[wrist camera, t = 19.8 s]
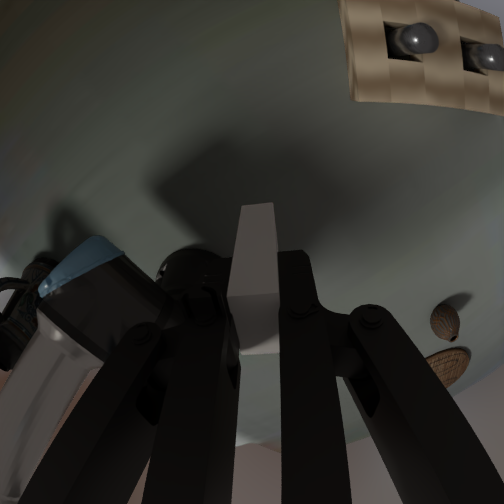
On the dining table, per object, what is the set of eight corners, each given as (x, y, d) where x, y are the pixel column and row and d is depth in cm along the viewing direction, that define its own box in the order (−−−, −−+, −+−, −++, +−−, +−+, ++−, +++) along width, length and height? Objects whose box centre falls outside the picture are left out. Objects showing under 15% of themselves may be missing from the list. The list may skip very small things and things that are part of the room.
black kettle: (64, 320, 63) (22, 396, 42) (14, 265, 55) (-43, 334, 34) (96, 297, 58) (46, 389, 37) (38, 232, 49) (-35, 310, 28)
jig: (493, 112, 33) (507, 117, 30) (350, 99, 36) (359, 101, 33) (485, 18, 24) (498, 17, 20) (334, -13, 27) (341, -21, 23)
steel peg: (470, 69, 30) (509, 73, 22) (453, 65, 30) (492, 68, 22) (468, 47, 28) (507, 47, 19) (450, 42, 28) (489, 41, 20)
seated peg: (405, 57, 31) (440, 55, 23) (381, 55, 32) (412, 50, 23) (402, 33, 29) (436, 25, 21) (378, 30, 30) (408, 19, 21)
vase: (456, 303, 55) (472, 330, 48) (438, 324, 59) (451, 351, 52) (439, 296, 54) (455, 324, 47) (421, 318, 58) (434, 347, 50)
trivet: (459, 379, 74) (461, 383, 73) (394, 404, 80) (396, 408, 78) (473, 335, 62) (476, 340, 61) (395, 366, 68) (397, 371, 66)
